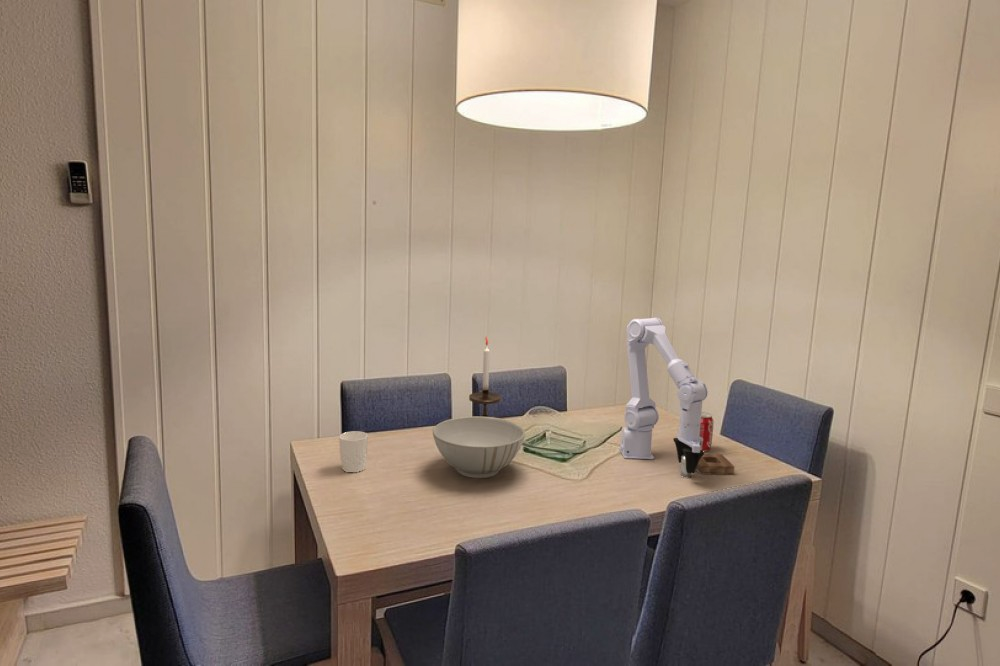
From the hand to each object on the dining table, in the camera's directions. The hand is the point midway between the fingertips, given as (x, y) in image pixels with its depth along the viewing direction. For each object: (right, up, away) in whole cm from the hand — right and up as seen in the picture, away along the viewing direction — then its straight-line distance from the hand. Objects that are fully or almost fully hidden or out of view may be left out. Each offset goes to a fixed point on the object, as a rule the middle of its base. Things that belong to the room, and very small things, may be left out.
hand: (686, 467), depth 172 cm
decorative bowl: (-61, -1, 0) cm, 61 cm away
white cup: (-97, 0, -2) cm, 97 cm away
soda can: (+12, +1, +23) cm, 26 cm away
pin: (0, -3, +1) cm, 3 cm away
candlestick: (-60, +4, +28) cm, 66 cm away
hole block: (+10, -2, +7) cm, 13 cm away
